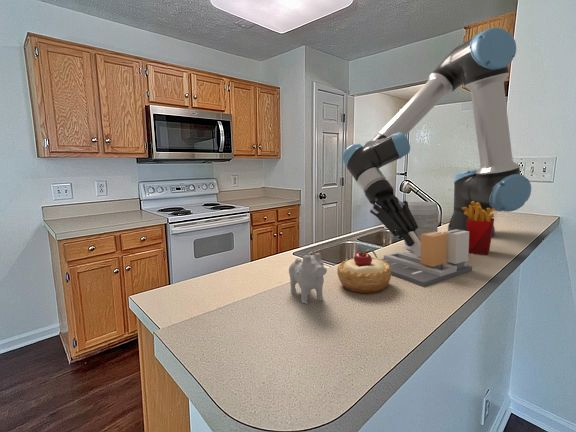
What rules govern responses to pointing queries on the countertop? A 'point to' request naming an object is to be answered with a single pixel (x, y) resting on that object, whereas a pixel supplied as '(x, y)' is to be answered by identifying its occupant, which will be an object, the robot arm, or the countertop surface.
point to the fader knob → (433, 249)
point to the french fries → (479, 228)
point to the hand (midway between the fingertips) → (422, 254)
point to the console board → (415, 272)
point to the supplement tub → (424, 217)
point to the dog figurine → (308, 275)
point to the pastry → (364, 273)
